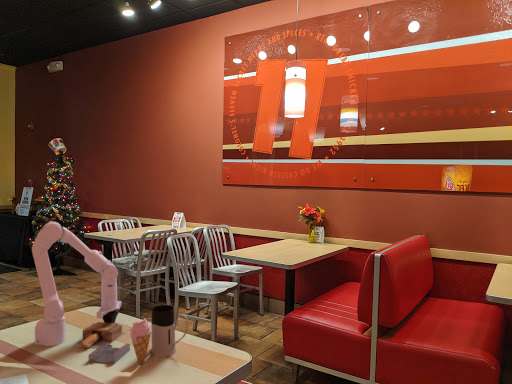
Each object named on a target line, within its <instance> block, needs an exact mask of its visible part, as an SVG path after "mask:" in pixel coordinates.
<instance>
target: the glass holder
mask: <svg viewBox="0 0 512 384" xmlns="http://www.w3.org/2000/svg"><path fill="white" fill-rule="evenodd" d="M181 316H182V317H184V319H185V320H186V328H185V331H184V333H183V335H182V337H181V338H179V339H178V340H177V341H176V327H177V326H178V323H179V318H180V317H181ZM150 319H151V322H150V323H151V324H150V327H151V328H150V330H151V353H150V355H151V356H152V357H155V358H166V357H170V356H172V355H174V354H176V353H177V348H176V344H178V343H179V342H180V341H181V340H182V339H183V338H184V337H186V335H187V332H188V330H189V329H188V328H189V318H188V316H186V315H185V314H184V313H183V314H182V313H181V314H179V315H178V316H177V317H176V319H175V306H173V305H170V304H160V305H157V306H153V307H152V308H151V318H150Z"/></svg>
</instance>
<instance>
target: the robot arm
mask: <svg viewBox="0 0 512 384" xmlns="http://www.w3.org/2000/svg"><path fill="white" fill-rule="evenodd" d="M39 229H40V230H39V231H38V233H37V236H36V238H35V239H34V242H33V244H32V246H31V252H32V257H33V261H34V264H35V268H36V273H37V277H38V281H39V286H40V289H41V293H42V294H41V295H42V298H43V304H44V305H43V310H44V312H43V318H42V319H40V320H38V321H37V323H36V324H35V327H34V345H37V346H39V345H40V346H45V347H55V346H59V345H61V344H64V343H65V342H66V341H67V340H66V317H65V310H64V302H63V301H62V300H61V299H60V297H59V294H58V292H57V287H56V282H55V279H54V275H53V271H52V267H51V266H52V265H51V262H50V257H49V253H48V250H49V249H50V248H51V247H52V245H53V244H55V243H56V242H57V241H59V242H60V243H66V244H68V245H70V246H71V247H72V248H74V249H75V250H76V251H78V252H79V253H80V254H81V255H82V256H84V262H85V263H86V265H88V266H89V267H90V268H92V269H93V270H94V271H96V273H99V274H100V276H101V284H100V287H101V288H100V290H101V292H100V293H101V294H100V295H101V301H100V303H101V304H100V305H101V306H100V309H99V310H98V311H97V312H96V319H102V322H106V323H116V320H117V317H118V315H119V314H120V309H121V307H122V301H121V300H118V282H117V279H118V278H117V277H118V276H119V271H118V269H117V267H116V266H115V264H114V263H113V262H112V261H111V260H110V259H109V260H108V259H107V257H105V256H104V255H103V252H102V251H101V250H99V251H98V250H97V249H90V247H88V246H87V245H86V244H85V243H83V241H82V240H80V238H78V236H77V235H75V234H74V233H73V232H72V231H70V230H69V229H68V228H66V227H64V226H62V225H61V224H60V223H59V222H57V221H48V222H46V223H45V224H44V225H43V226H42V228H39Z"/></svg>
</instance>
